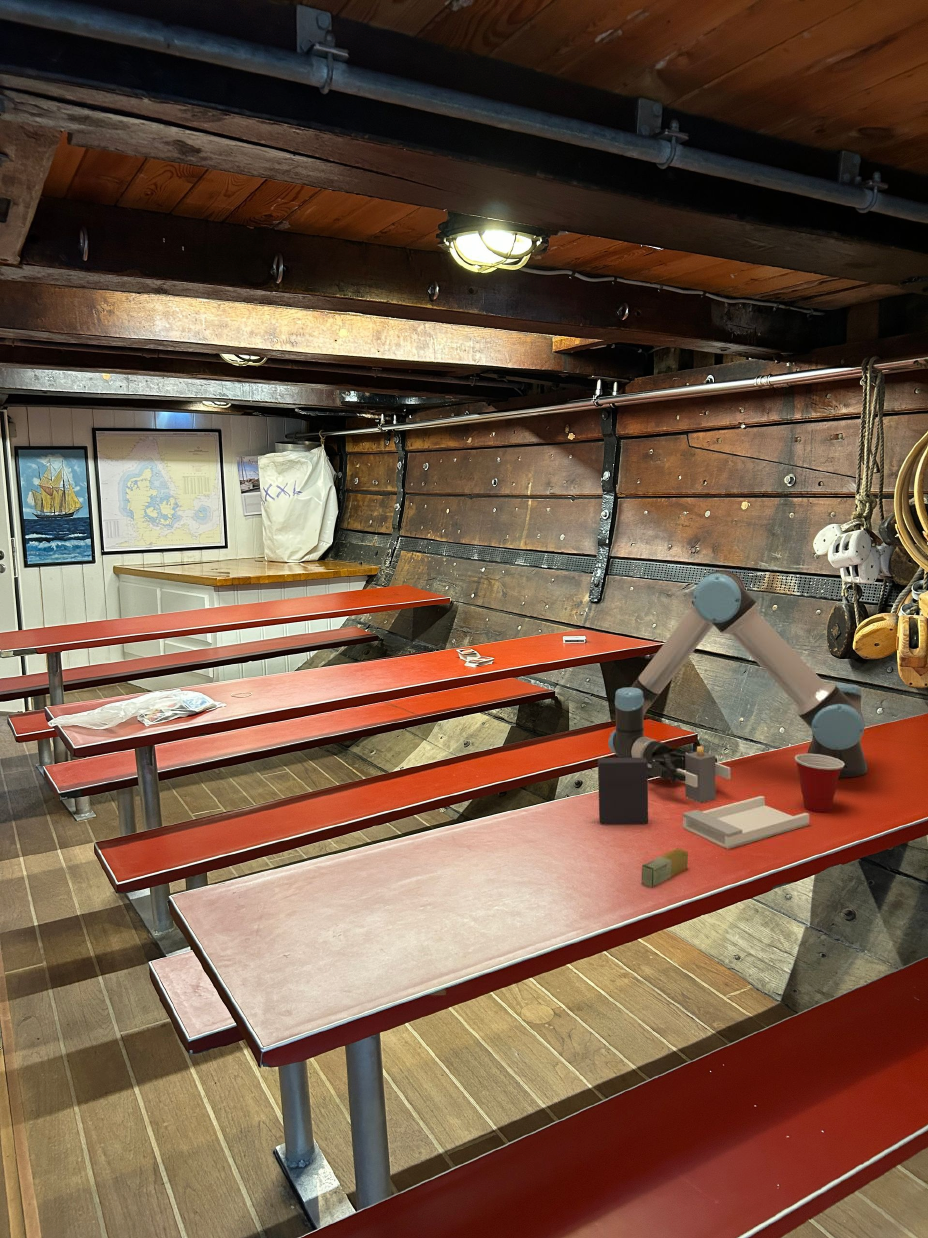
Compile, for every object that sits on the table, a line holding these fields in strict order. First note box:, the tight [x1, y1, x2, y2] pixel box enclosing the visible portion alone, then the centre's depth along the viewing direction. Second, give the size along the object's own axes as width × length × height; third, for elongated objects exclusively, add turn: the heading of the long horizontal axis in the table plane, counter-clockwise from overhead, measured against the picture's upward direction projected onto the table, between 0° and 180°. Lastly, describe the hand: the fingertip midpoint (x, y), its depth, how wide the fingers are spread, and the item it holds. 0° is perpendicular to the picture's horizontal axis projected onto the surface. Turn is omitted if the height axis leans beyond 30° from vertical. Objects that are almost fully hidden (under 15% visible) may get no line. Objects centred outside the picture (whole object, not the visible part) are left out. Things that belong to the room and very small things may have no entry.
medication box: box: [641, 847, 689, 888], centre depth 169 cm, size 12×3×4 cm, turn 131°
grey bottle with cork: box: [685, 745, 716, 804], centre depth 210 cm, size 5×5×13 cm
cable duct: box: [682, 795, 810, 850], centre depth 192 cm, size 24×14×3 cm, turn 117°
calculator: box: [597, 757, 649, 825], centre depth 197 cm, size 11×4×15 cm, turn 84°
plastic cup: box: [794, 753, 845, 813], centre depth 200 cm, size 11×11×12 cm
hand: (712, 777), depth 206 cm, fingers open, 10 cm apart
